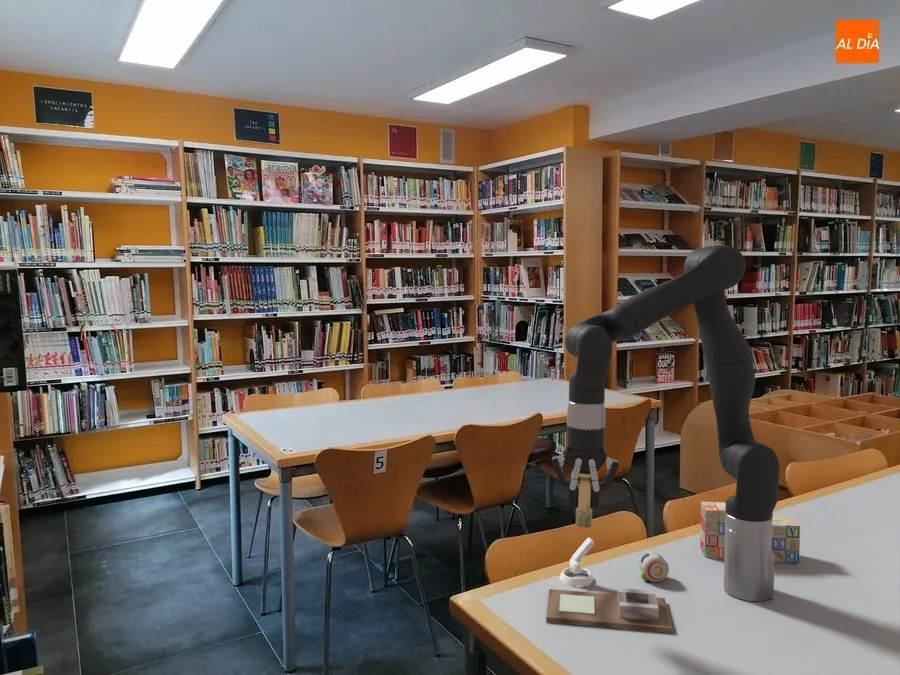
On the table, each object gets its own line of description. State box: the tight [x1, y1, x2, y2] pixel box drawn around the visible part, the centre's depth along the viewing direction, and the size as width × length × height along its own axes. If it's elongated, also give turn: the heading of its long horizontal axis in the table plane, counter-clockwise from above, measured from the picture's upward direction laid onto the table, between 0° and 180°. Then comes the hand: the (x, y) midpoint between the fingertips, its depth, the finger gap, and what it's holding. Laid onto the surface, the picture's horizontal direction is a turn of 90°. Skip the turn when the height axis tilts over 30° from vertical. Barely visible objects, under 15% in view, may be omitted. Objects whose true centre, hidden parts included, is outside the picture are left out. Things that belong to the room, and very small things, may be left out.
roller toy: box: [638, 551, 670, 583], centre depth 147 cm, size 4×6×6 cm
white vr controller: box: [559, 537, 595, 587], centre depth 147 cm, size 8×12×7 cm
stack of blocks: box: [699, 501, 801, 564], centre depth 158 cm, size 21×6×12 cm, turn 79°
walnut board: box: [545, 587, 673, 634], centre depth 133 cm, size 24×12×4 cm, turn 79°
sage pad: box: [559, 594, 595, 615], centre depth 134 cm, size 7×7×1 cm
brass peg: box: [575, 473, 593, 529], centre depth 131 cm, size 4×4×11 cm
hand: (583, 507), depth 132 cm, fingers closed on brass peg, 3 cm apart
